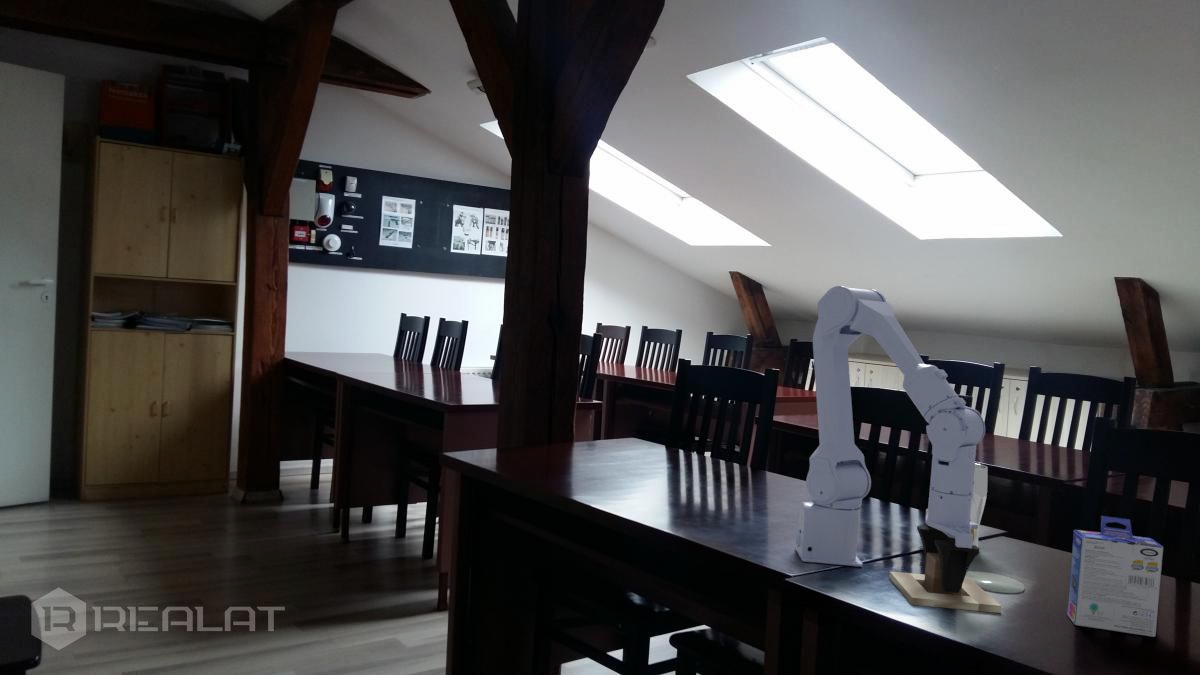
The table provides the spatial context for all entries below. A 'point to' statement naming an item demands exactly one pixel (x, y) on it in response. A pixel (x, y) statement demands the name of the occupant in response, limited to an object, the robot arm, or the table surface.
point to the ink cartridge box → (1115, 580)
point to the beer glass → (978, 497)
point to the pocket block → (969, 600)
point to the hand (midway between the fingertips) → (942, 583)
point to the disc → (995, 582)
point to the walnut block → (934, 575)
